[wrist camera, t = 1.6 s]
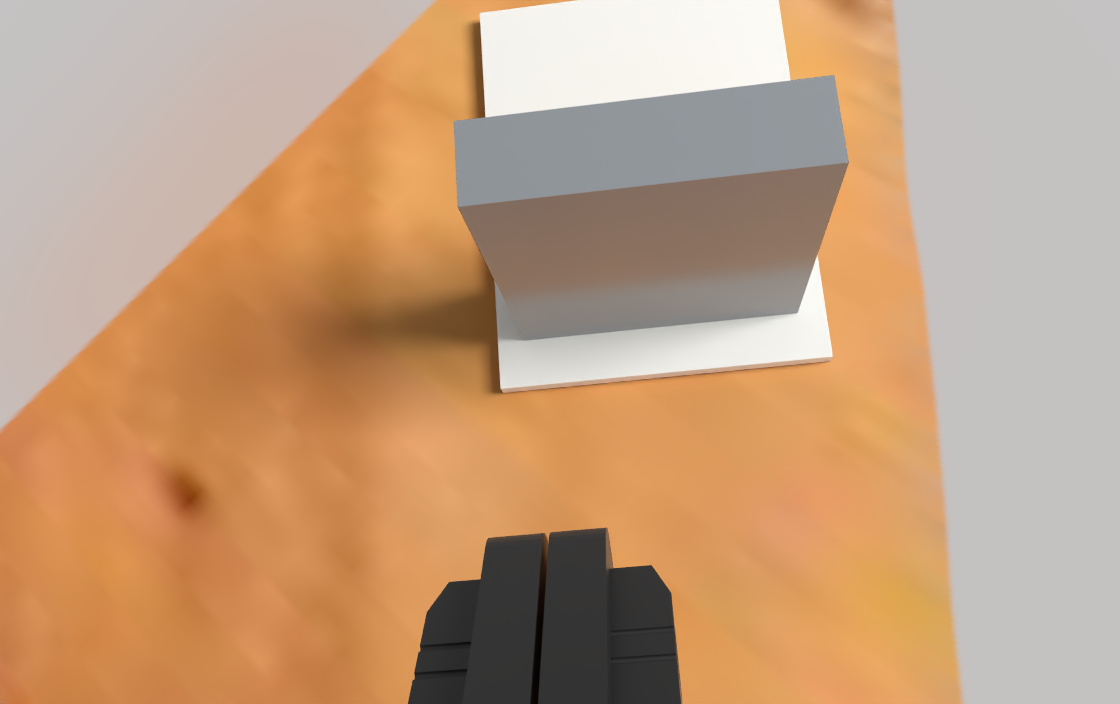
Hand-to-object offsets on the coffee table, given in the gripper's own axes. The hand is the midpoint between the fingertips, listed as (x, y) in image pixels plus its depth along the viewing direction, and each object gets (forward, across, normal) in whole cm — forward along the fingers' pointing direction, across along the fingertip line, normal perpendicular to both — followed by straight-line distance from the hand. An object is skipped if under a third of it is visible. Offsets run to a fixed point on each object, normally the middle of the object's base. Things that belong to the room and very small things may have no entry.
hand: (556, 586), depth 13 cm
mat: (+28, -2, +5) cm, 29 cm away
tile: (+24, -2, +8) cm, 26 cm away
